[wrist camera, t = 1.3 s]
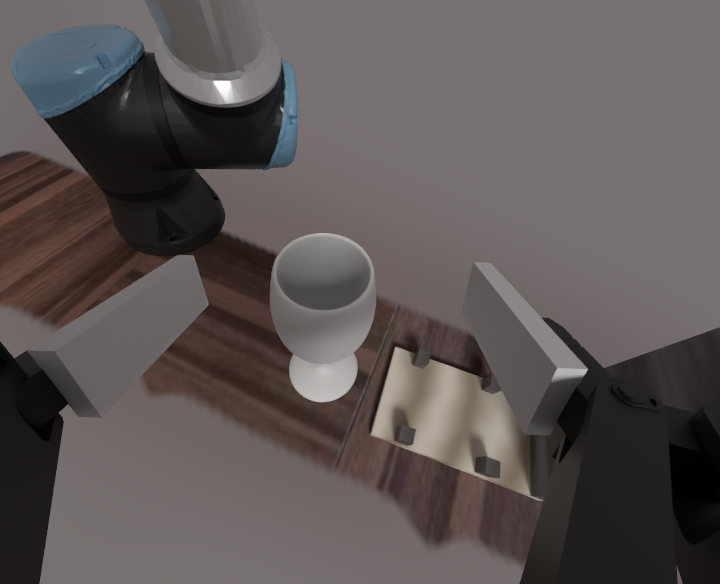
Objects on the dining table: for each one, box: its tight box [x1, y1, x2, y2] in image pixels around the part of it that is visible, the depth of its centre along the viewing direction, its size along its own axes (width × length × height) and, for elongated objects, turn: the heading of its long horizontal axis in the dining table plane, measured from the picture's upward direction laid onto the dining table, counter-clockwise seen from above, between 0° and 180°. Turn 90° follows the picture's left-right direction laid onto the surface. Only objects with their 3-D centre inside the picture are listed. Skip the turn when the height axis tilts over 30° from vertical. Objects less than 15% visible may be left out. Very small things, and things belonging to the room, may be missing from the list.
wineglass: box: [270, 233, 376, 402], centre depth 27 cm, size 9×9×21 cm
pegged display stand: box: [370, 328, 720, 501], centre depth 24 cm, size 20×11×23 cm, turn 71°
